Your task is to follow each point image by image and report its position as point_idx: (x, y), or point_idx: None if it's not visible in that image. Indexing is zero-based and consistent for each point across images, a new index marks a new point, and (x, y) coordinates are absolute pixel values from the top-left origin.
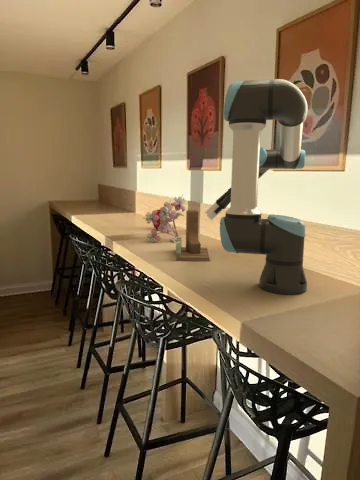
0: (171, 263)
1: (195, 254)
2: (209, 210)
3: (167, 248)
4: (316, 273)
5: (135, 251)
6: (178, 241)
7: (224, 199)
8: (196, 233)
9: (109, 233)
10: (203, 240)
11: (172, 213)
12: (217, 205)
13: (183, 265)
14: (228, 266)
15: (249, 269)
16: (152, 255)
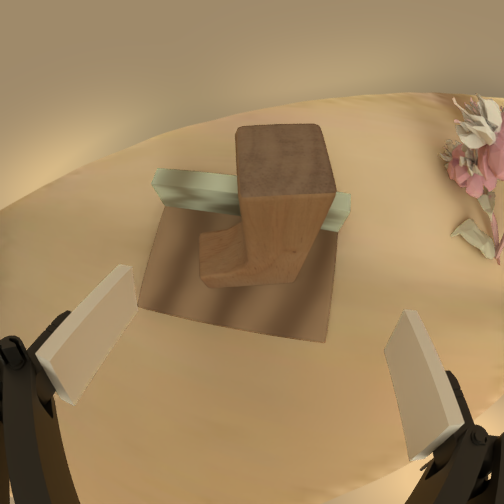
0: (145, 183)
1: (194, 264)
2: (409, 350)
3: (367, 194)
4: None
5: (317, 108)
6: (233, 182)
7: (8, 450)
8: (246, 253)
9: None
10: (490, 348)
11: (496, 154)
12: (52, 354)
13: (115, 214)
14: None
15: None
16: None
